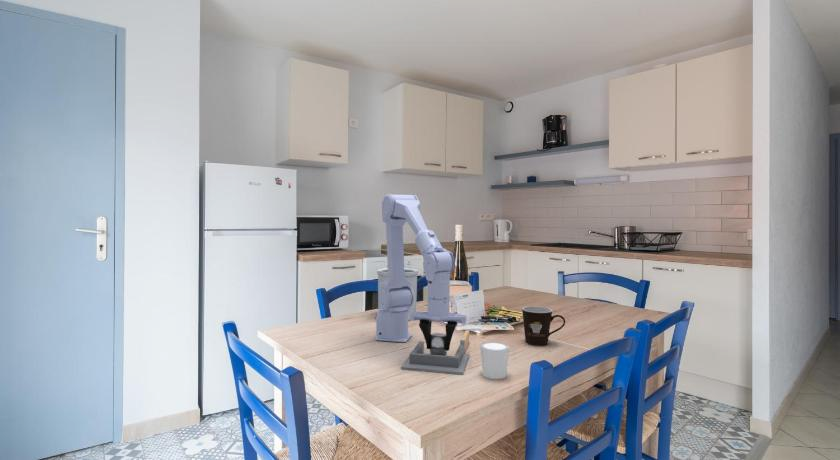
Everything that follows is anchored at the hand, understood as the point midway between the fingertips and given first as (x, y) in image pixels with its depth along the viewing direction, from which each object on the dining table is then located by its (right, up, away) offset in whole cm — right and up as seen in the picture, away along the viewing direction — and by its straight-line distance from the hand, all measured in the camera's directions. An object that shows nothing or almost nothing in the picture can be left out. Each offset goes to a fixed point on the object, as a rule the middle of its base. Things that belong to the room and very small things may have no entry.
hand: (438, 348), depth 114 cm
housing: (0, -3, -2) cm, 3 cm away
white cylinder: (+13, -4, -10) cm, 17 cm away
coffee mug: (+31, -3, +15) cm, 34 cm away
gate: (+8, -2, +10) cm, 13 cm away
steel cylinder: (0, -2, 0) cm, 2 cm away
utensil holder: (-13, -1, +46) cm, 48 cm away
